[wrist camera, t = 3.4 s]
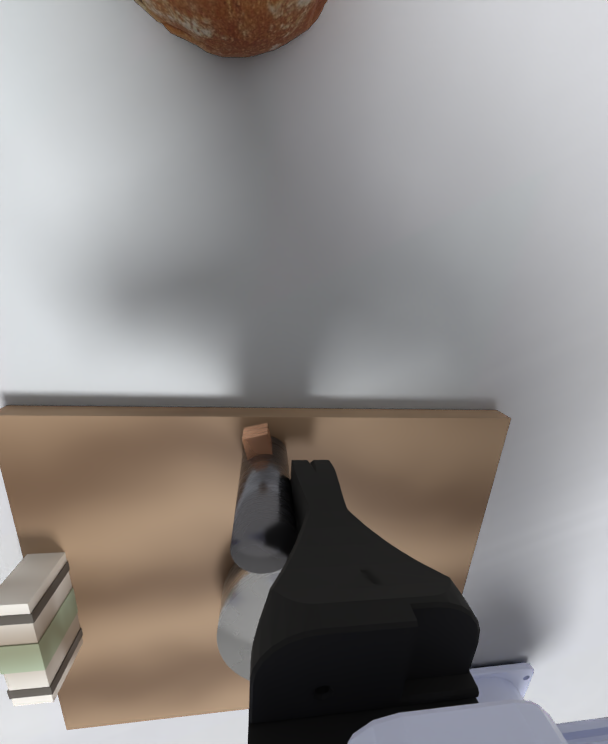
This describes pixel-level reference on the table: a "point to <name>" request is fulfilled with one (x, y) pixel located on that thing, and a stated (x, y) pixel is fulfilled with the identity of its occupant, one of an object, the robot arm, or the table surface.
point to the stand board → (195, 536)
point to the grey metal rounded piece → (255, 543)
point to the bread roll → (235, 22)
